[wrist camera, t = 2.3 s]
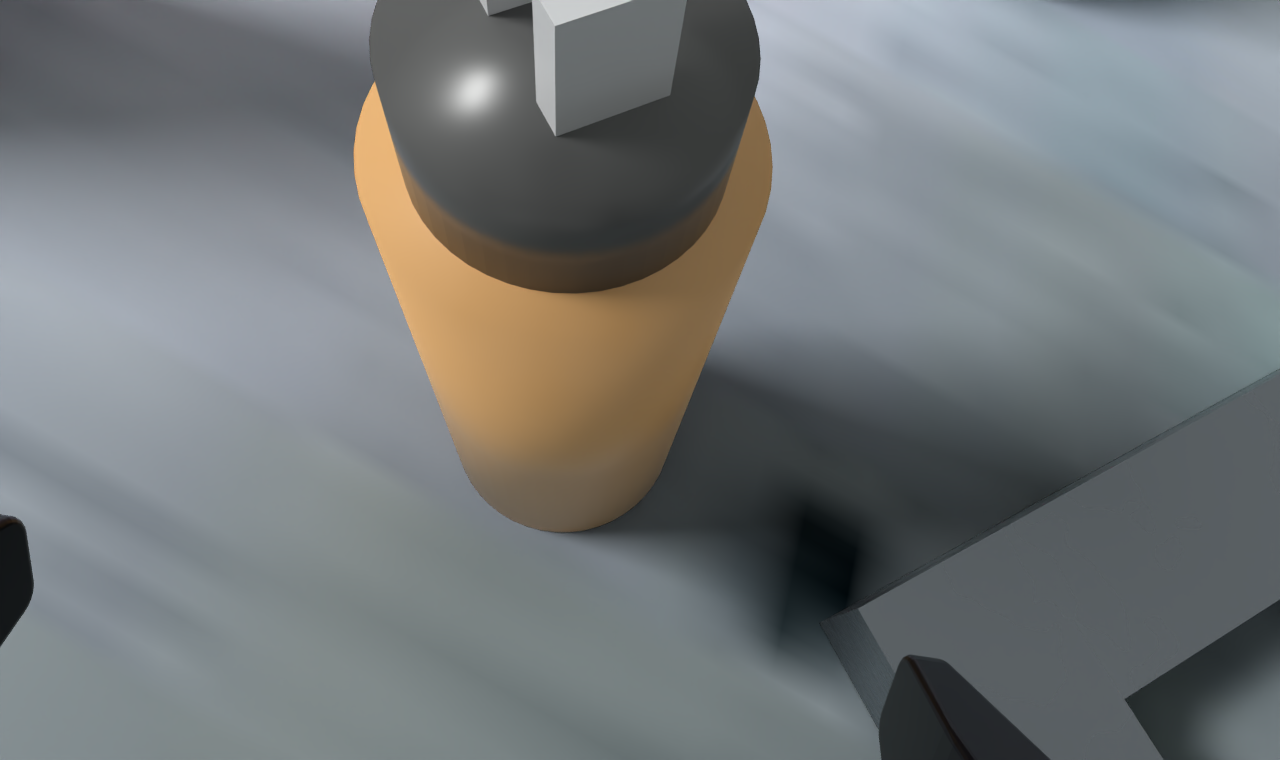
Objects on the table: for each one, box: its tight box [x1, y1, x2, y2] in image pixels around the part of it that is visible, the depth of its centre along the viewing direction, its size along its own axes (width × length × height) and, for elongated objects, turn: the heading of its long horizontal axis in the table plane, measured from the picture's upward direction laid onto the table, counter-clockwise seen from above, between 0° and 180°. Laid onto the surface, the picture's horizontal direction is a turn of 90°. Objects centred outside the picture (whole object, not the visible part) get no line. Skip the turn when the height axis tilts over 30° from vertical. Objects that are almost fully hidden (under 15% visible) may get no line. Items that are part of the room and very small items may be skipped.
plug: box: [354, 0, 773, 532], centre depth 16 cm, size 6×6×16 cm
